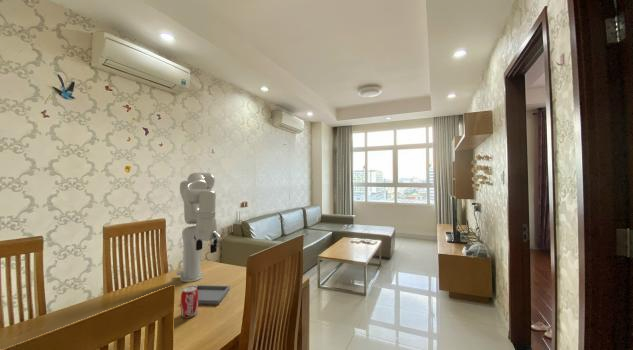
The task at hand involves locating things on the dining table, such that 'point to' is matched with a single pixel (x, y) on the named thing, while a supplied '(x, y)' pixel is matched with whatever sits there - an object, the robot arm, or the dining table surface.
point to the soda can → (189, 301)
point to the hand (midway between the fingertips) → (206, 251)
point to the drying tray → (211, 294)
